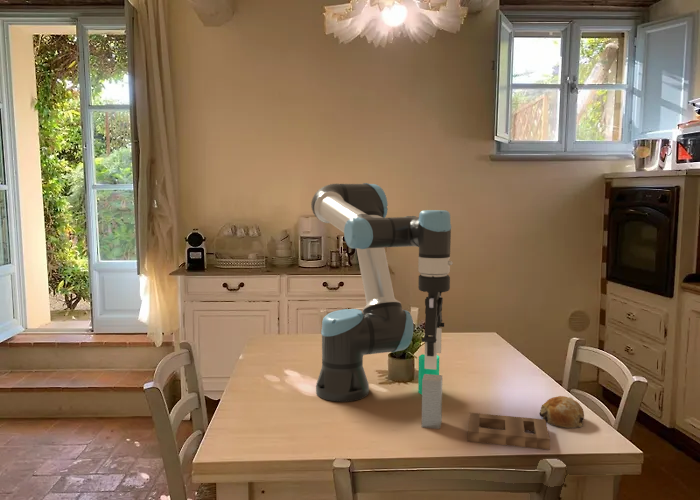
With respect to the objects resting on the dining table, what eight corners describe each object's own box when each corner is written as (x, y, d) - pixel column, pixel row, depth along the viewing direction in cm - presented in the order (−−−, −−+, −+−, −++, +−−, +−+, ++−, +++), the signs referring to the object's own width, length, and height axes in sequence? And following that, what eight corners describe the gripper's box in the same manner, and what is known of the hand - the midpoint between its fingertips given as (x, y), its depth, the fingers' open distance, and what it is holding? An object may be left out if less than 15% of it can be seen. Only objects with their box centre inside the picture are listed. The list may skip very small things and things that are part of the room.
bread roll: (570, 445, 137) (587, 419, 134) (532, 419, 141) (547, 394, 138) (578, 430, 145) (593, 405, 142) (541, 406, 149) (556, 382, 147)
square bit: (421, 427, 138) (422, 379, 137) (423, 419, 143) (424, 373, 141) (440, 429, 137) (440, 381, 136) (441, 421, 142) (442, 375, 140)
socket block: (467, 441, 131) (467, 430, 130) (469, 422, 141) (469, 412, 141) (549, 449, 126) (549, 439, 126) (544, 429, 137) (545, 419, 137)
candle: (441, 390, 163) (442, 349, 162) (435, 397, 158) (436, 355, 157) (421, 387, 166) (422, 347, 164) (415, 393, 160) (415, 352, 159)
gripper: (446, 282, 123) (445, 377, 125) (453, 267, 147) (452, 347, 149) (411, 281, 124) (411, 375, 127) (424, 267, 149) (423, 345, 151)
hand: (433, 360), depth 138 cm, fingers open, 13 cm apart
